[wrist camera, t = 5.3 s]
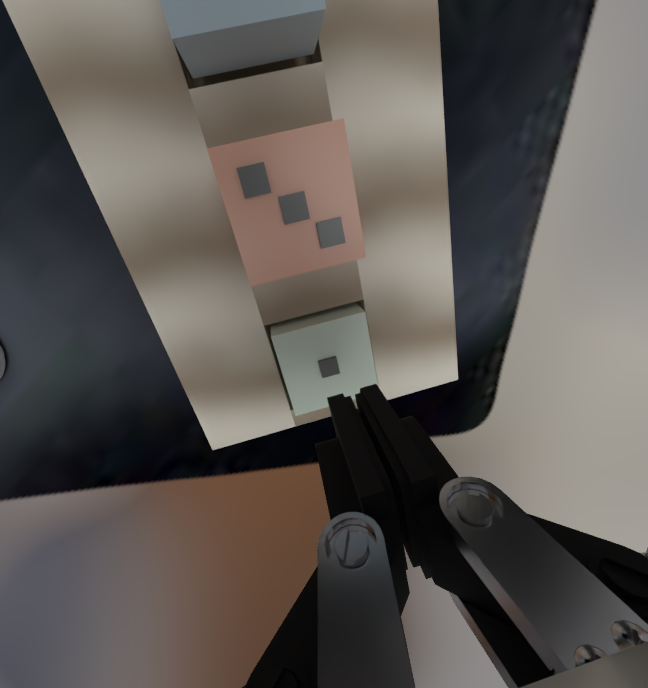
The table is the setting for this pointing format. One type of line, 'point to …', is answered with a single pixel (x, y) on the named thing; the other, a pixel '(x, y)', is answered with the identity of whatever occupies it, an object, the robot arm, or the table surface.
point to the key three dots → (291, 200)
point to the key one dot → (324, 355)
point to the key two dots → (242, 32)
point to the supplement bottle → (2, 362)
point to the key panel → (208, 206)
